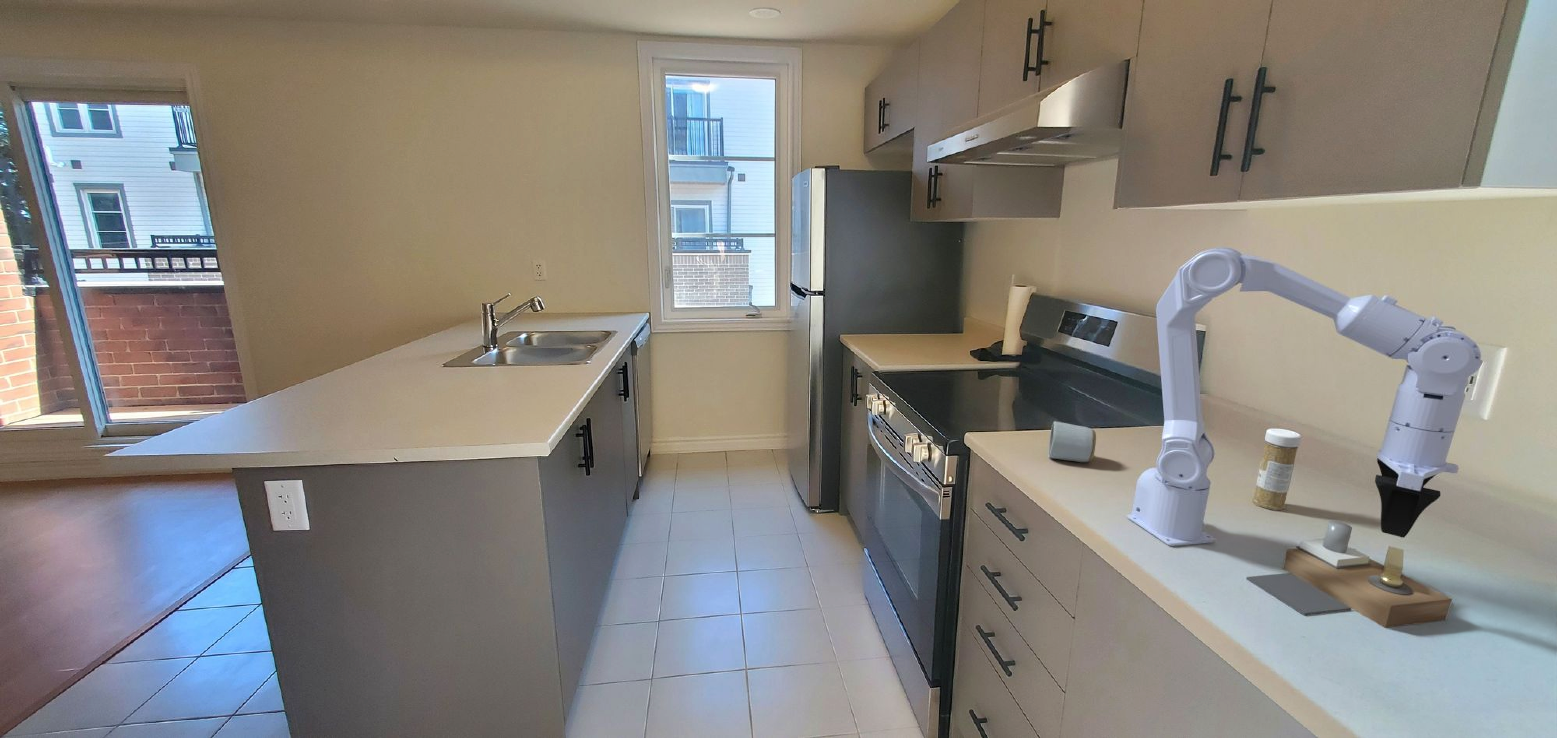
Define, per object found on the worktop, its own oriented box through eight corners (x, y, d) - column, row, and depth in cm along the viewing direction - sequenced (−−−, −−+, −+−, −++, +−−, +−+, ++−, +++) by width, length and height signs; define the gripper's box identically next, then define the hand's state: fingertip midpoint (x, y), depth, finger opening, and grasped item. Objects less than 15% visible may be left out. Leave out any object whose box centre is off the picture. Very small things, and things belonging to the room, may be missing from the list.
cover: (1299, 546, 86) (1306, 517, 84) (1329, 544, 86) (1336, 515, 85) (1336, 566, 81) (1344, 535, 80) (1367, 563, 82) (1375, 532, 80)
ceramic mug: (1093, 468, 120) (1098, 432, 119) (1049, 463, 123) (1053, 427, 122) (1087, 451, 130) (1092, 417, 129) (1046, 446, 133) (1049, 412, 131)
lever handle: (1401, 590, 75) (1406, 571, 75) (1378, 583, 77) (1383, 565, 76) (1401, 568, 80) (1406, 550, 80) (1380, 562, 82) (1385, 544, 81)
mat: (1246, 578, 83) (1246, 576, 83) (1289, 574, 84) (1290, 572, 84) (1303, 615, 76) (1304, 613, 76) (1350, 609, 77) (1351, 607, 77)
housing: (1281, 567, 86) (1285, 547, 85) (1334, 562, 88) (1339, 542, 87) (1385, 627, 74) (1391, 604, 73) (1445, 620, 75) (1452, 597, 74)
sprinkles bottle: (1253, 496, 108) (1268, 425, 105) (1286, 504, 105) (1302, 431, 102) (1250, 505, 105) (1265, 432, 102) (1284, 513, 102) (1300, 438, 99)
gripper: (1473, 448, 68) (1440, 556, 71) (1464, 419, 78) (1435, 515, 81) (1385, 432, 73) (1358, 534, 76) (1387, 407, 83) (1363, 498, 86)
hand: (1393, 523), depth 79 cm, fingers open, 7 cm apart
